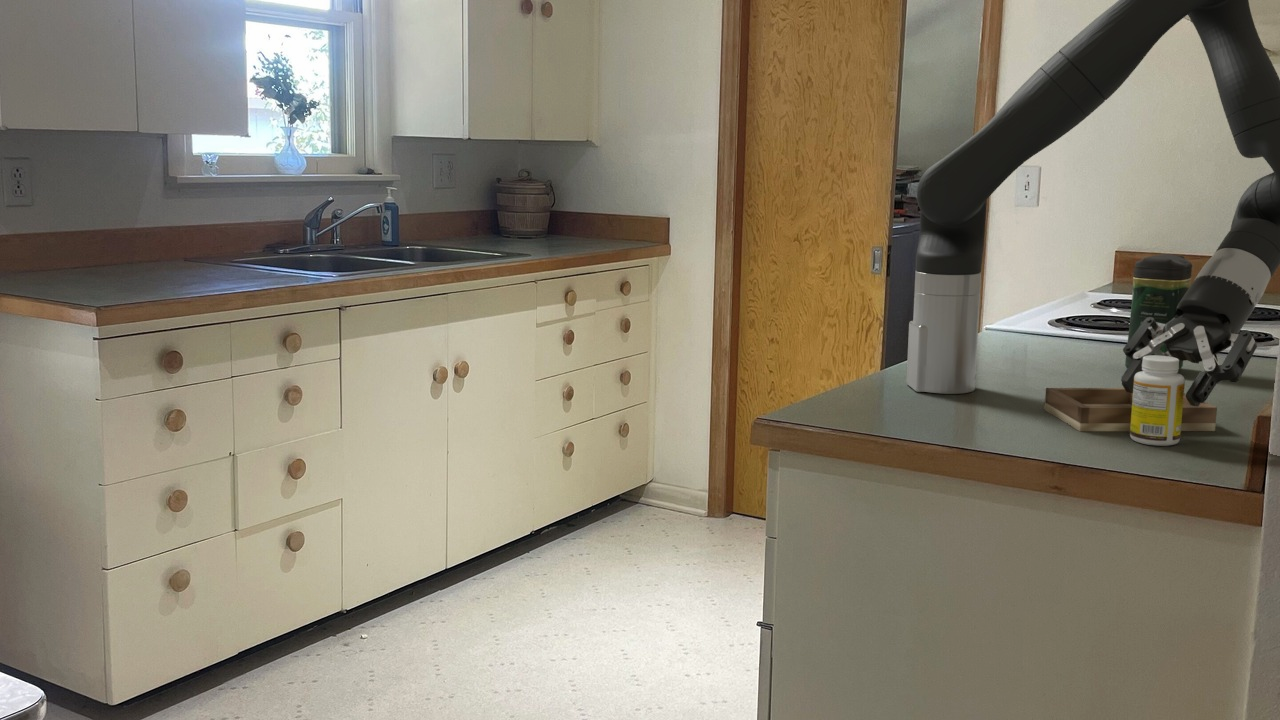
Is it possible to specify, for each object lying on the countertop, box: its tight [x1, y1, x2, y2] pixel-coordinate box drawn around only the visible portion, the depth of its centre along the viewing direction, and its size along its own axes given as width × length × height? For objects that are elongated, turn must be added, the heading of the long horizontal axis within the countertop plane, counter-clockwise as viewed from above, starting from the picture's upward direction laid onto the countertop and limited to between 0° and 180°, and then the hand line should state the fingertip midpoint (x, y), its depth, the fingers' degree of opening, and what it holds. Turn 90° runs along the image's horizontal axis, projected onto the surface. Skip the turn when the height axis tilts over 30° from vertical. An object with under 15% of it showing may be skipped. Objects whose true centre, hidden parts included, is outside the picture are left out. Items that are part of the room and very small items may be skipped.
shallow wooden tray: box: [1044, 387, 1218, 432], centre depth 147 cm, size 17×12×3 cm
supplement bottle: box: [1129, 355, 1186, 447], centre depth 135 cm, size 6×6×10 cm
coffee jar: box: [1124, 253, 1193, 371], centre depth 179 cm, size 10×8×19 cm
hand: (1158, 395), depth 135 cm, fingers open, 8 cm apart
